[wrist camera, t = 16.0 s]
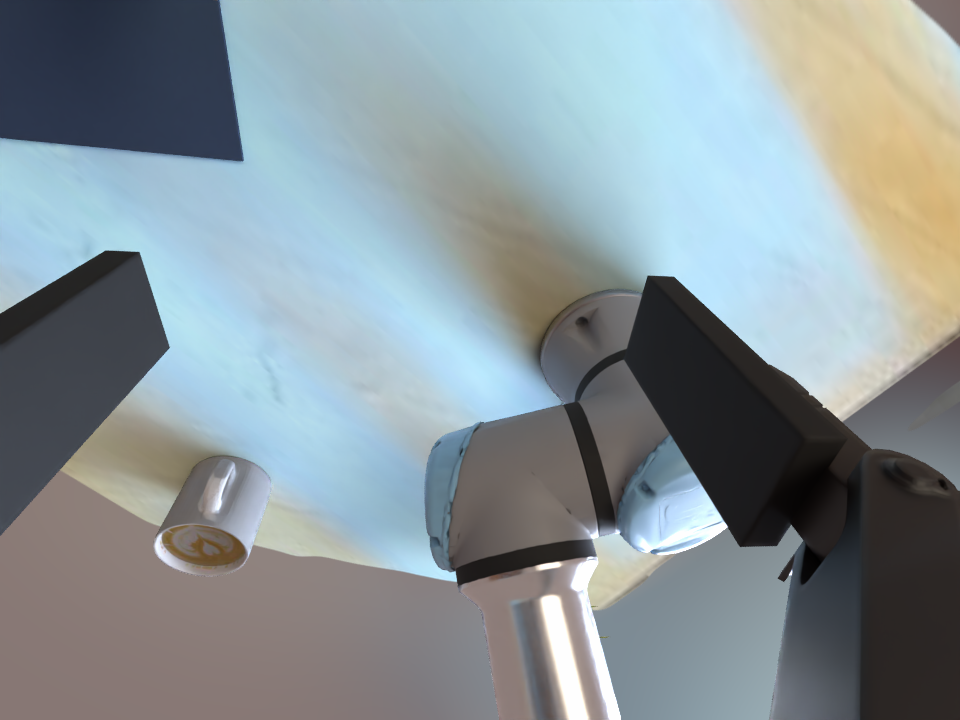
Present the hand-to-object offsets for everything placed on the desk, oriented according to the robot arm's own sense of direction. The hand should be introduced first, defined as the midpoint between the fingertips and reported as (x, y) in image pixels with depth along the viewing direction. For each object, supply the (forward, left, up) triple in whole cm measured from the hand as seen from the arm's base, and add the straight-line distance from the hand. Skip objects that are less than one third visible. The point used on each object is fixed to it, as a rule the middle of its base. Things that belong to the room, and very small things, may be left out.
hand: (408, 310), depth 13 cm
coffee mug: (-43, +22, -33) cm, 59 cm away
